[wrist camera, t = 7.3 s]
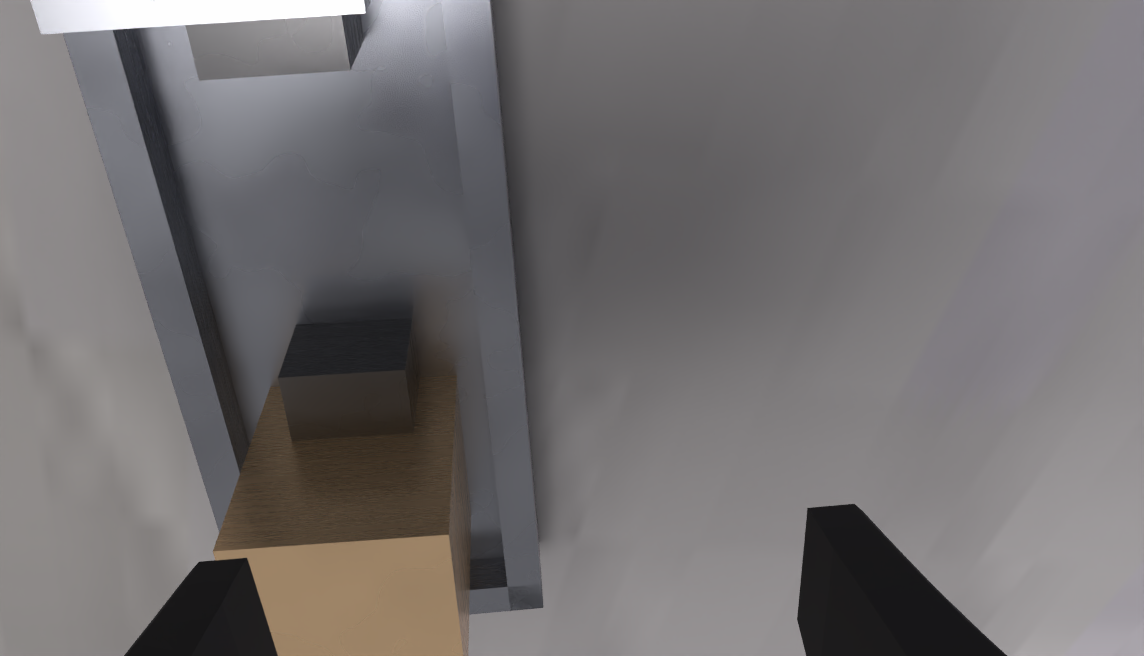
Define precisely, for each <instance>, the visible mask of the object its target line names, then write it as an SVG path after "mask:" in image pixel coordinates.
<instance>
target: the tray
mask: <svg viewBox="0 0 1144 656" xmlns="http://www.w3.org/2000/svg"><path fill="white" fill-rule="evenodd" d="M360 14H361V21H362V27H363V34H364V41H363V44H362V46H361V48H360V50H359V53H358V55H357V57H356V59H355V62H354V64H353V66H352V68H351V70H349V71H335V72H320V73H305V74H290V75H276V76H261V77H246V78H231V79H217V80H202V81H199V79H198V75H197V71H196V67H195V63H194V59H193V54H192V50H191V46H190V42H189V38H188V34H187V30H186V26H185V25H176V26H161V27H146V28H131V29H115V30H100V31H85V32H69V33H63V36H64V39H65V42H66V45H67V48H68V51H69V55H70V58H71V61H72V64H73V67H74V71H75V74H76V77H77V80H78V83H79V87H80V90H81V93H82V96H83V99H84V102H85V106H86V109H87V112H88V115H89V118H90V122H91V125H92V128H93V131H94V134H95V137H96V141H97V144H98V147H99V150H100V153H101V157H102V160H103V163H104V166H105V169H106V173H107V176H108V179H109V182H110V185H111V188H112V192H113V195H114V198H115V201H116V204H117V208H118V211H119V214H120V217H121V220H122V224H123V227H124V230H125V233H126V236H127V239H128V243H129V246H130V249H131V252H132V255H133V259H134V262H135V265H136V268H137V271H138V275H139V278H140V281H141V284H142V287H143V290H144V294H145V297H146V300H147V303H148V306H149V310H150V313H151V316H152V319H153V322H154V325H155V329H156V332H157V335H158V338H159V341H160V345H161V348H162V351H163V354H164V357H165V361H166V364H167V367H168V370H169V373H170V376H171V380H172V383H173V386H174V389H175V392H176V396H177V399H178V402H179V405H180V408H181V412H182V415H183V418H184V421H185V424H186V427H187V431H188V434H189V437H190V440H191V443H192V447H193V450H194V453H195V456H196V459H197V462H198V466H199V469H200V472H201V475H202V478H203V482H204V485H205V488H206V491H207V494H208V498H209V501H210V504H211V507H212V510H213V513H214V517H215V520H216V523H217V526H218V529H219V533H220V530H221V527H222V524H223V521H224V518H225V516H226V513H227V510H228V507H229V504H230V501H231V498H232V495H233V493H234V490H235V487H236V484H237V481H238V478H239V475H240V472H241V470H242V467H243V464H244V461H245V458H246V455H247V452H248V449H249V447H250V444H251V441H252V438H253V435H254V432H255V429H256V427H257V424H258V421H259V418H260V415H261V412H262V409H263V406H264V404H265V401H266V398H267V395H268V392H269V389H270V387H278V386H279V381H278V376H279V373H280V370H281V367H282V364H283V361H284V358H285V355H286V352H287V349H288V346H289V344H290V341H291V338H292V335H293V332H294V329H295V326H296V325H299V324H316V323H333V322H350V321H367V320H384V319H401V318H412V320H413V328H414V336H415V344H416V352H417V360H418V367H419V375H420V378H423V377H439V376H455V375H457V382H458V392H459V401H460V411H461V421H462V431H463V440H464V450H465V460H466V469H467V479H468V489H469V498H470V508H471V549H470V595H469V614H479V613H490V612H501V611H512V610H523V609H534V608H543V596H542V581H541V565H540V550H539V537H538V526H537V514H536V503H535V491H534V480H533V468H532V457H531V445H530V434H529V422H528V411H527V399H526V388H525V376H524V365H523V353H522V342H521V330H520V319H519V307H518V296H517V284H516V273H515V262H514V250H513V239H512V227H511V216H510V204H509V193H508V181H507V170H506V158H505V147H504V135H503V124H502V112H501V101H500V89H499V78H498V66H497V55H496V43H495V32H494V20H493V9H492V0H372V1H371V3H370V5H369V7H368V9H367V11H366V13H360Z"/></svg>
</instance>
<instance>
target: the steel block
mask: <svg viewBox="0 0 1144 656" xmlns="http://www.w3.org/2000/svg"><path fill="white" fill-rule="evenodd" d="M30 1H31V4H32V7H33V10H34V13H35V16H36V20H37V23H38V26H39V29H40V32H41V34H54V33H69V32H85V31H100V30H115V29H131V28H146V27H161V26H176V25H185V26H186V30H187V34H188V38H189V42H190V46H191V50H192V54H193V59H194V63H195V67H196V71H197V75H198V79H199V81H202V80H217V79H231V78H246V77H261V76H276V75H290V74H305V73H320V72H335V71H349V70H351V68H352V66H353V64H354V62H355V59H356V57H357V55H358V53H359V50H360V48H361V46H362V44H363V41H364V34H363V27H362V21H361V14H360V13H366V11H367V9H368V7H369V5H370V3H371V1H372V0H30Z"/></svg>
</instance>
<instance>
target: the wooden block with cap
mask: <svg viewBox="0 0 1144 656" xmlns="http://www.w3.org/2000/svg"><path fill="white" fill-rule="evenodd" d="M278 381H279V386H278V387H270V389H269V392H268V395H267V398H266V401H265V404H264V406H263V409H262V412H261V415H260V418H259V421H258V424H257V427H256V429H255V432H254V435H253V438H252V441H251V444H250V447H249V449H248V452H247V455H246V458H245V461H244V464H243V467H242V470H241V472H240V475H239V478H238V481H237V484H236V487H235V490H234V493H233V495H232V498H231V501H230V504H229V507H228V510H227V513H226V516H225V518H224V521H223V524H222V527H221V530H220V533H219V536H218V539H217V541H216V544H215V547H214V550H213V553H214V556H215V560H227V559H238V558H247V559H248V562H249V565H250V568H251V571H252V575H253V578H254V581H255V584H256V587H257V591H258V594H259V597H260V600H261V603H262V606H263V610H264V613H265V616H266V619H267V622H268V626H269V629H270V632H271V635H272V638H273V641H274V645H275V648H276V651H277V654H278V656H468V640H469V595H470V549H471V508H470V498H469V489H468V479H467V469H466V460H465V450H464V440H463V431H462V421H461V411H460V401H459V392H458V382H457V375H455V376H439V377H423V378H420V375H419V367H418V360H417V352H416V344H415V336H414V328H413V320H412V318H401V319H384V320H367V321H350V322H333V323H316V324H299V325H296V326H295V329H294V332H293V335H292V338H291V341H290V344H289V346H288V349H287V352H286V355H285V358H284V361H283V364H282V367H281V370H280V373H279V376H278Z"/></svg>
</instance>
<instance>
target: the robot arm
mask: <svg viewBox="0 0 1144 656" xmlns="http://www.w3.org/2000/svg"><path fill="white" fill-rule="evenodd" d="M797 620H798V624H799V628H800V632H801V636H802V640H803V644H804V648H805V652H806V656H1007V655H1006V654H1005V653H1003V652H1002V651H1001V650H1000V649H999V648H998V647H997V646H996V645H995V644H994V643H993V642H991V641H990V640H989V639H988V638H987V637H986V636H985V635H984V634H983V633H982V632H981V631H980V630H979V629H978V628H976V627H975V626H974V625H973V624H972V623H971V622H970V621H969V620H968V619H967V618H966V617H965V616H964V615H963V614H962V613H961V612H960V611H959V610H958V609H957V608H956V607H955V606H954V605H953V604H951V603H950V602H949V601H948V600H947V599H946V598H945V597H944V596H943V595H942V594H941V593H940V592H939V591H938V590H937V589H936V588H935V587H934V586H933V585H932V584H931V583H930V582H929V581H928V580H927V579H926V578H925V577H924V576H923V575H922V574H921V573H920V571H919V570H918V569H917V568H916V567H915V566H914V565H913V564H912V563H911V562H910V561H909V560H908V559H907V558H906V557H905V556H904V555H903V554H902V553H901V552H900V551H899V550H898V549H897V548H896V546H895V545H894V544H893V543H892V542H891V541H890V540H889V539H888V538H887V537H886V536H885V535H884V534H883V533H882V532H881V530H880V529H879V528H878V527H877V526H876V525H875V524H874V523H873V522H872V521H871V520H870V519H869V518H868V516H867V515H866V514H865V513H864V512H863V511H862V510H861V509H860V508H858V507H857V506H856V505H855V504H848V505H837V506H826V507H815V508H808V510H807V521H806V532H805V543H804V553H803V564H802V575H801V585H800V596H799V607H798V617H797ZM124 656H278V654H277V651H276V648H275V645H274V641H273V638H272V635H271V632H270V629H269V626H268V622H267V619H266V616H265V613H264V610H263V606H262V603H261V600H260V597H259V594H258V591H257V587H256V584H255V581H254V578H253V575H252V571H251V568H250V565H249V562H248V559H247V558H238V559H227V560H215V561H204V562H199V563H198V564H197V565H196V566H195V567H194V568H193V569H192V571H191V572H190V573H189V574H188V576H187V577H186V578H185V579H184V581H183V582H182V583H181V584H180V586H179V587H178V588H177V589H176V591H175V592H174V593H173V594H172V596H171V597H170V598H169V600H168V601H167V602H166V603H165V605H164V606H163V607H162V608H161V610H160V611H159V612H158V614H157V615H156V616H155V617H154V619H153V620H152V621H151V623H150V624H149V625H148V626H147V628H146V629H145V630H144V631H143V633H142V634H141V635H140V636H139V638H138V639H137V640H136V641H135V643H134V644H133V645H132V646H131V648H130V649H129V650H128V652H127V653H126V654H125V655H124Z"/></svg>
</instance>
